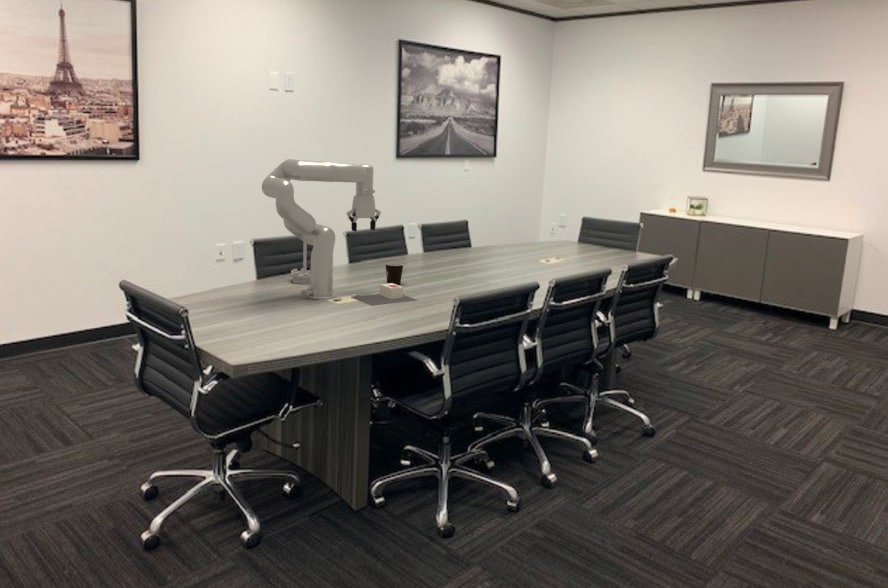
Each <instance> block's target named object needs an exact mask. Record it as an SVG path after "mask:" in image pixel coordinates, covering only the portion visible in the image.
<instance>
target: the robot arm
mask: <svg viewBox="0 0 888 588" xmlns="http://www.w3.org/2000/svg"><path fill="white" fill-rule="evenodd" d="M291 180H293V181H299V182H301V181H302V182H322V183H323V182H324V183H325V182H326V183H354V184H355V195H353V199H352V206H351V209H350V210H348V211H347V212H346V215H347V219H348V220H349V221H350V222H351V227H350V228H351V231H353V232H357V230H358V229H357V228H358V223H357V221H358V220H359V219H370V221H369V224H370V226H369V227H370V228H369V230H370V231H376V225H377V224H376V222H377V221H378V219H379V218H380V216H381V213H382V212H381V211H380V210H378V209H376V202H375V200H376V199H375V196H374V194H375V192H376V191H375V189H374V167H373V165H372V164H354V163H352V164H351V163H345V164H343V163H334V162H331V161H325V160H324V161H323V160H322V161H321V160H304V159H303V160H302V159H295V158H294V159H293V158H292V159H291V158H290V159H289V158H288V159H285V160H284V161H283V162H281V163H280V164H278V166H277V167H276V168H274V169H273V170H272V171H271V172H270V173H269V174H267V176H266V177H265V178H263V181H262V183H261V191H262V193H263V194H264V195H265V196H266V197H268V198H271V199H275V208H276V212H277V215H278V216H279V217H280V218H281V219H282V220H283V225H284V227H285V229H286V230H287V231H288V232H290V233H291V234H292V235H293V236H295V237H297V238H298V239H299V240H300V241H302V242H305V243H307V245H310V246H313V247H312V251H311V254H310V269H311V284H310V286H309V285H308V287H307V288H305V289H299V292H300V294H301V295H306V297H307V298H308V299H312V300H328V299H332V298H333V299H334V298H336V297H337V294H336V293H335V292H333V282H334V281H333V279H334V278H333V272H334V269H333V268H334V263H333V262H334V248H335V244H336V233H335V231H334V230H333V229H332V228H331V227H329V226H327V225H322V224H317V221H316V218H314V217H313V215H312V214H310V212H308V211H307V210H305V209H304V208H302V207H301V206H300V205H299V204H297V202H296V200H295V197H294V196H295V195H294V194H295V189H294V186H293V184H292V182H291Z"/></svg>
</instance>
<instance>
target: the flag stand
mask: <svg viewBox="0 0 888 588" xmlns="http://www.w3.org/2000/svg"><path fill="white" fill-rule="evenodd" d="M302 242H303V241H302ZM302 244H303V245H302V247H303V251H302V252H303V253H302V254H303V255H302V256H303V257H302V259H303V261H302V262H303V263H302V267H303V268H300V270H298V268H293V269H292V270H291V271H290V276H291V277H292V279H293V280H292V281H293V283H294V284H298V285H299V284H300V285H311V268H310V269H309V270H307V253H308V252H307V247H308V244H307V243H305V242H303V243H302Z"/></svg>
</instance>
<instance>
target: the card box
mask: <svg viewBox="0 0 888 588" xmlns="http://www.w3.org/2000/svg"><path fill="white" fill-rule="evenodd" d="M379 294H380V296H383V297H386V298H388V299H398V298H403V295H404V286H401V285H396V284H393V283H389V284H387V283H381V284H379Z"/></svg>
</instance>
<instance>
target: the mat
mask: <svg viewBox="0 0 888 588" xmlns="http://www.w3.org/2000/svg"><path fill="white" fill-rule="evenodd" d="M350 298H351V299H353V300H357V301H358V302H362V303H364V304H367V305H368V306H371V307H374V306H375V307H376V306H382V305H384V306H385V305H390V304H400V303H407V302H415V301H416V302H417V299H416V298H413V297H411V296H408V295H405V294H403V298H398V299H388V298H386V297H383V296H380V293H376V294H365V295H357V296H350Z"/></svg>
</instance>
